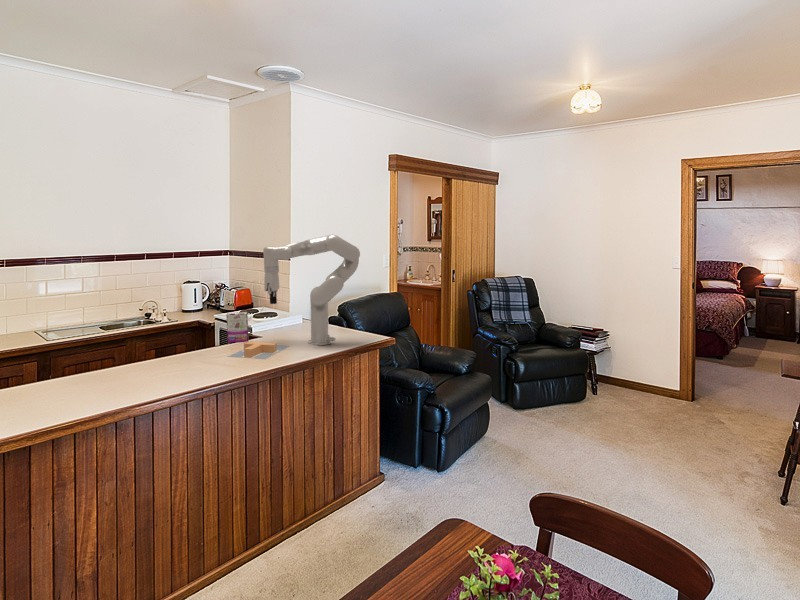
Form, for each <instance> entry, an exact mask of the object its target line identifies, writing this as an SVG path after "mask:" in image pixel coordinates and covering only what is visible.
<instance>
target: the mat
mask: <svg viewBox="0 0 800 600" xmlns="http://www.w3.org/2000/svg"><path fill="white" fill-rule="evenodd" d="M276 345H277V351H276V352H274V353H265V352H262V353H260V354H258V355H256V356H254V357H244V348H243V349H241V350H239V351H237V352H234V353H232V354H230V355H228V356H227V358H239V359H241V358H244V359H254V360H255V359H256V360H257V359H258V360H267V359H269V358H270V357H273V356H274V355H276V354H278V353H280V352H282V351H283V350H286V349H287V348H289V347H291V345H283V344H281V345H280V344H276Z"/></svg>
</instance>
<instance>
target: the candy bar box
mask: <svg viewBox="0 0 800 600" xmlns="http://www.w3.org/2000/svg"><path fill="white" fill-rule="evenodd" d="M225 315H226V333H227V334H226V335H227V337H226V338H227V339H226V341H227V344H235V343H246V342H249V323H248V321H249V319H248V318H249V317H248V312H247V311H245V312H243V311H241V312H227V313H226V314H225Z"/></svg>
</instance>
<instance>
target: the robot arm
mask: <svg viewBox="0 0 800 600" xmlns="http://www.w3.org/2000/svg"><path fill="white" fill-rule="evenodd" d="M262 250H263V251H262V253H263V267H264V268H263V269H264V270H263V271H264V278H263V279H264V282H263V283H264V291H265V292H267V294H268V295H269V304H270V305H277V304H278V300H277V297H278V296H277V295H278V293H277V292H278V291H279V290H280V278H279V277H280V276H279V272H280V269H279V268H280V267H279V263H280V262H279V261H289V260H290V259H293V258H298V257H302V256H315V255H319V254H323V253H324V254H325V253H327V252H333V253H335V254H337V255H338V256H340V257H341V258H343V261H342V262H341V264H340V265H339V266H338V267H337V268H336V269H334V271H333V272H331V273H329V275H327V277H326V279H325V281H323V282H322V283H321V284H320V285H319V286H314V288H312V290H311V291H310V295H309V297H310V302H309V304H310V340H308V343H307V344H309V345H312V346H327V345H330V344H331V343H332V342H336V337H334V336H332V337H331V335H330V334H329V302H330V301H331V300H333V298H335V297H336V296H337V295H338V294H339V293H340V292H341V291H342V290H343V287H344V285H345V283H346V281H348V280H349V279H350V278H351V277H352V276H353V275H354V274H355V272H357V269H358V268H359V261H360V257H361V251H360V249H359V248H358V246H356V245H353V244H352V243H350V242H348V241H347V240H345V239H343V238H342V237H340V236H339V235H337V234H329V235H324V236H320V237H315V238H311V239H310V238H309V239H306V240H304V241H300V242H295V243H290V244H286V245H283V246H266V247H263V249H262Z"/></svg>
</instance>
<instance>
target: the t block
mask: <svg viewBox="0 0 800 600" xmlns="http://www.w3.org/2000/svg"><path fill="white" fill-rule="evenodd" d="M277 345H278V344H277V343H273V342H272V343H271V342H254V341H248V342H243V349H244V357H254V356H256V355H258V354H260V353H262V352H265V353H274V352H276V351H277Z"/></svg>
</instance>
